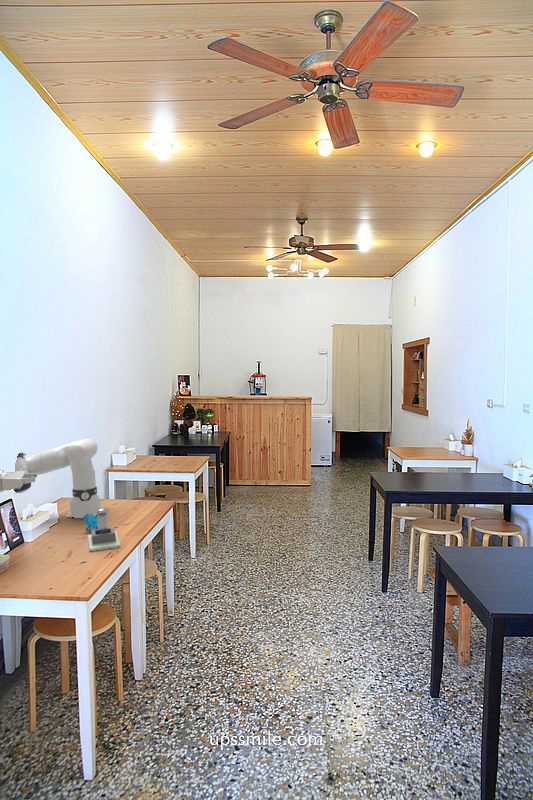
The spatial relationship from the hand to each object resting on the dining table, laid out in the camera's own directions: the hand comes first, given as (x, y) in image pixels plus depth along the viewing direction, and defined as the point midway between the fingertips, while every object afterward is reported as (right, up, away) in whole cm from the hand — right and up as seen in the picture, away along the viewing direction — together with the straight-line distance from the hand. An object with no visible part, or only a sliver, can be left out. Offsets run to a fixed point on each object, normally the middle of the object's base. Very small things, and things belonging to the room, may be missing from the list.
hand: (36, 477), depth 209 cm
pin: (+26, -28, +6) cm, 38 cm away
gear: (+16, -28, +24) cm, 41 cm away
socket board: (+26, -29, +6) cm, 39 cm away
